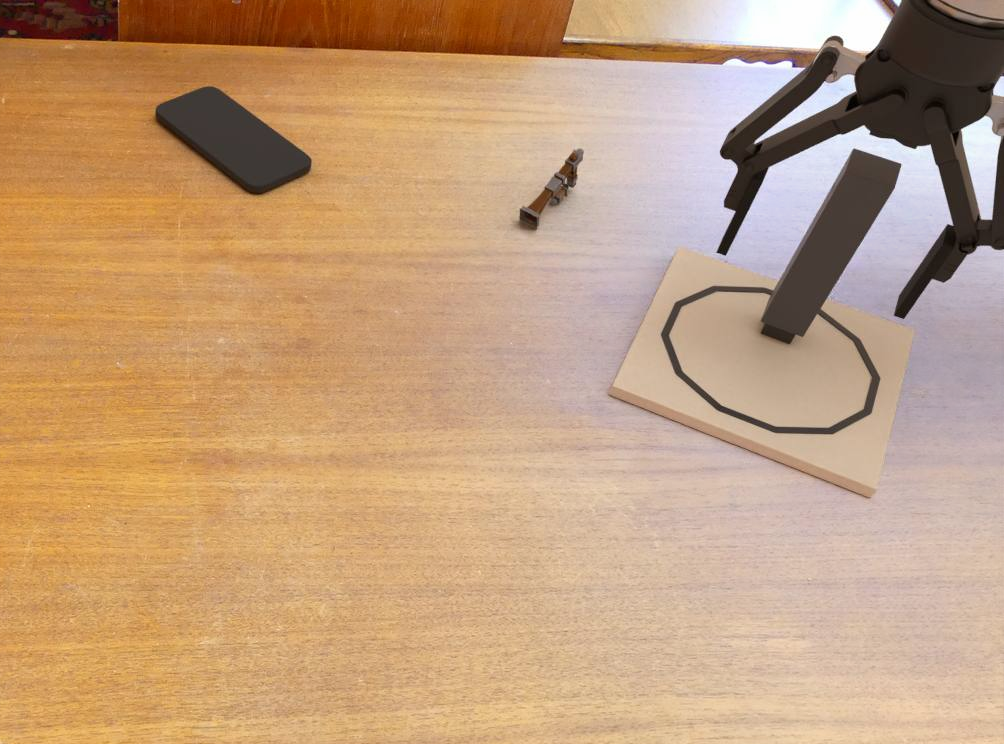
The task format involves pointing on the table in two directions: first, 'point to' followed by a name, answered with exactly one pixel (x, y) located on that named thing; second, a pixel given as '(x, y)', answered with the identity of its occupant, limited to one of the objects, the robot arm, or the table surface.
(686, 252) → the sketch board
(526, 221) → the brown two-tone long part
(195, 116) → the phone
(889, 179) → the marker
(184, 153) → the table surface
